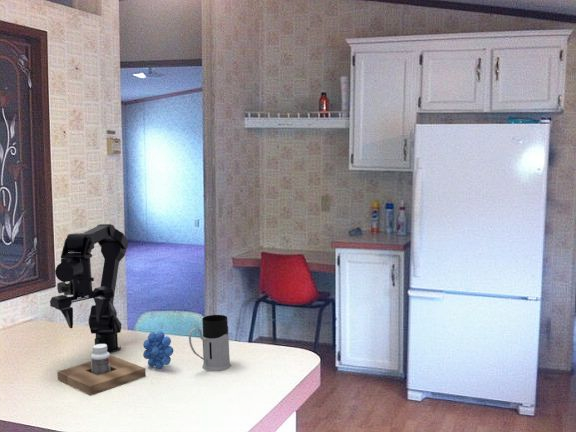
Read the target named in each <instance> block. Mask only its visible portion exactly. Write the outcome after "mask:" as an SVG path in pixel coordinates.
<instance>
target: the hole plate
mask: <svg viewBox="0 0 576 432" xmlns="http://www.w3.org/2000/svg"><path fill="white" fill-rule="evenodd" d="M110 363H111V371H110V372H107V373H104V374H101V375H98V376H97V375H95V374H92V366H91V361H88V362H85V363H81V364H78V365H75V366H71V367H68V368H64V369H62V370H57V372H56V373H57V381H58V382H61V383H63V384H66V385H68V386H70V387H73V388H74V389H77V390H78V391H80V392H83V393H85V394H87V395H89V396H94V395H95V394H99V393H101V392H104V391H107V390H111V389H113V388H116V387H119V386H122V385H124V384H128V383H130V382H133V381H136V380H139V379H142V378H145V377H146V375H147V374H146V367H143V366H141V365H138V364H136V363H133V362H129V361H128V360H125V359H122V358H120V357H116V356H114V355H111V354H110Z"/></svg>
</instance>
